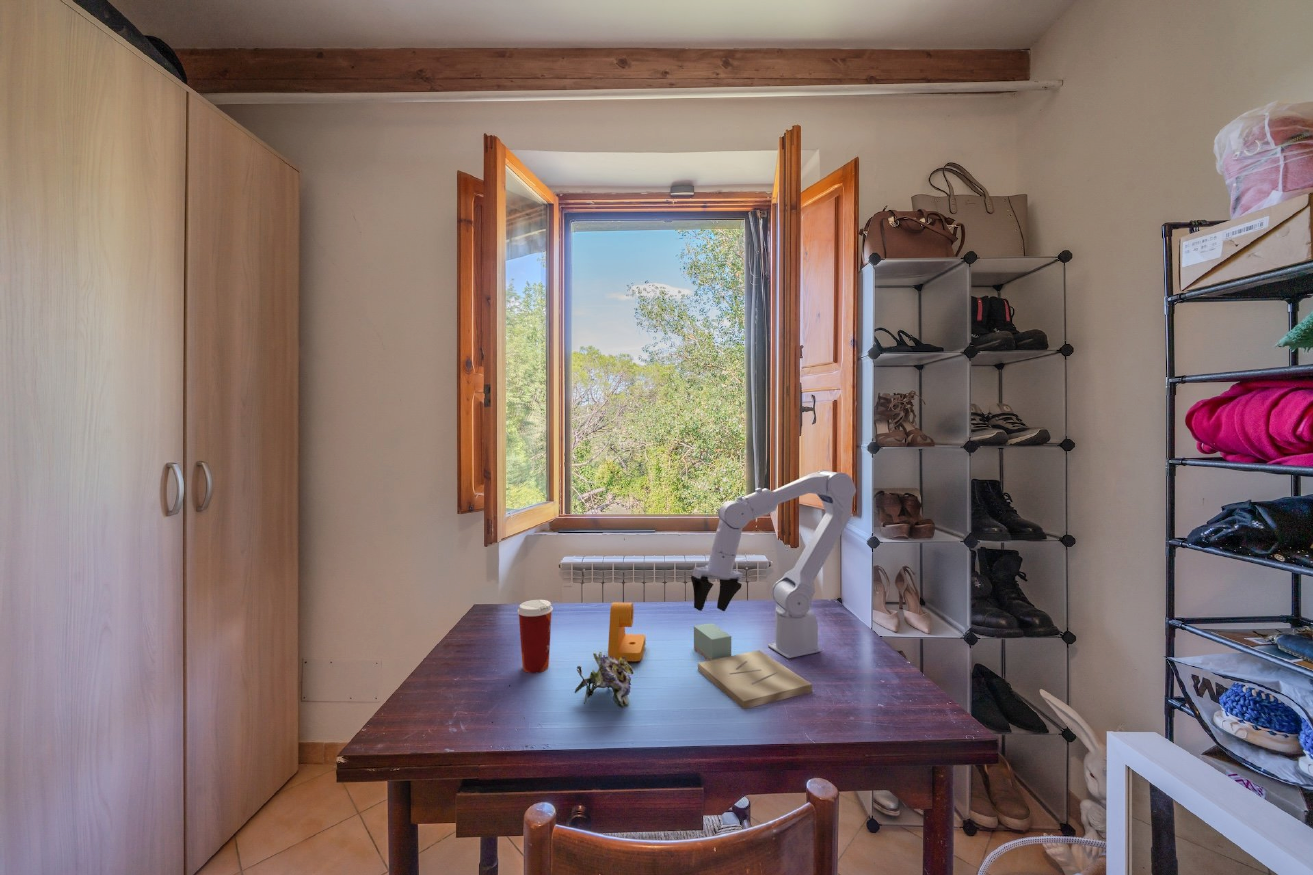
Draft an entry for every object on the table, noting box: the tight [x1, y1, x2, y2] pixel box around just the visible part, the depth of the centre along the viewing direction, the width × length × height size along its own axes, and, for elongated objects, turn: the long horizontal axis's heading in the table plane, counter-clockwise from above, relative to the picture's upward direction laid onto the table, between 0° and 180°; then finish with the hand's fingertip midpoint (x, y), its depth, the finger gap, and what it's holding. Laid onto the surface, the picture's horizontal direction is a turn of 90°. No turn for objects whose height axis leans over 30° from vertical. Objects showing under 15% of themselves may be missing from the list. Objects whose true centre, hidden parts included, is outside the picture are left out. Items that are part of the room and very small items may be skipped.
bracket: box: [607, 601, 647, 662], centre depth 123 cm, size 11×7×12 cm, turn 174°
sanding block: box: [693, 622, 732, 661], centre depth 123 cm, size 5×9×6 cm, turn 23°
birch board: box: [697, 649, 813, 710], centre depth 110 cm, size 16×18×2 cm
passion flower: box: [574, 651, 634, 709], centre depth 101 cm, size 11×11×12 cm
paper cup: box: [517, 599, 554, 674], centre depth 116 cm, size 8×8×14 cm
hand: (709, 609), depth 122 cm, fingers open, 7 cm apart
